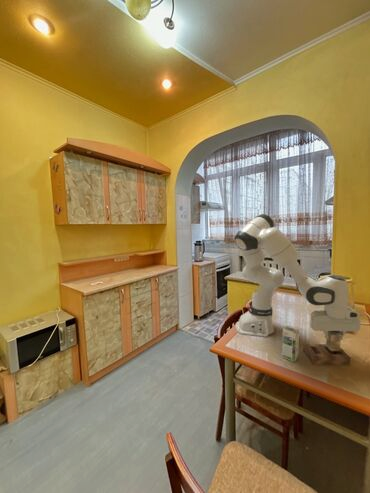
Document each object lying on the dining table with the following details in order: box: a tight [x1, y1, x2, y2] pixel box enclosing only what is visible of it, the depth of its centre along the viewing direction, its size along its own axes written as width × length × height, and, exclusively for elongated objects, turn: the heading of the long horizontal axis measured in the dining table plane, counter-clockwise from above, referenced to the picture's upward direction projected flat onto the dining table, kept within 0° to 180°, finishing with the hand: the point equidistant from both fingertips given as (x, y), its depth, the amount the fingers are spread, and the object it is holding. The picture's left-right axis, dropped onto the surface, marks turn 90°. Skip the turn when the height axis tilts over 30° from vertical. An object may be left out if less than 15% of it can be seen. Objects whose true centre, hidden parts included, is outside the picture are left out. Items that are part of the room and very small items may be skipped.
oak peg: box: [325, 331, 342, 351], centre depth 103 cm, size 4×4×9 cm
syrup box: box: [281, 325, 300, 363], centre depth 105 cm, size 6×6×14 cm
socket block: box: [302, 343, 351, 366], centre depth 104 cm, size 16×10×4 cm, turn 84°
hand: (333, 338), depth 103 cm, fingers closed on oak peg, 4 cm apart
